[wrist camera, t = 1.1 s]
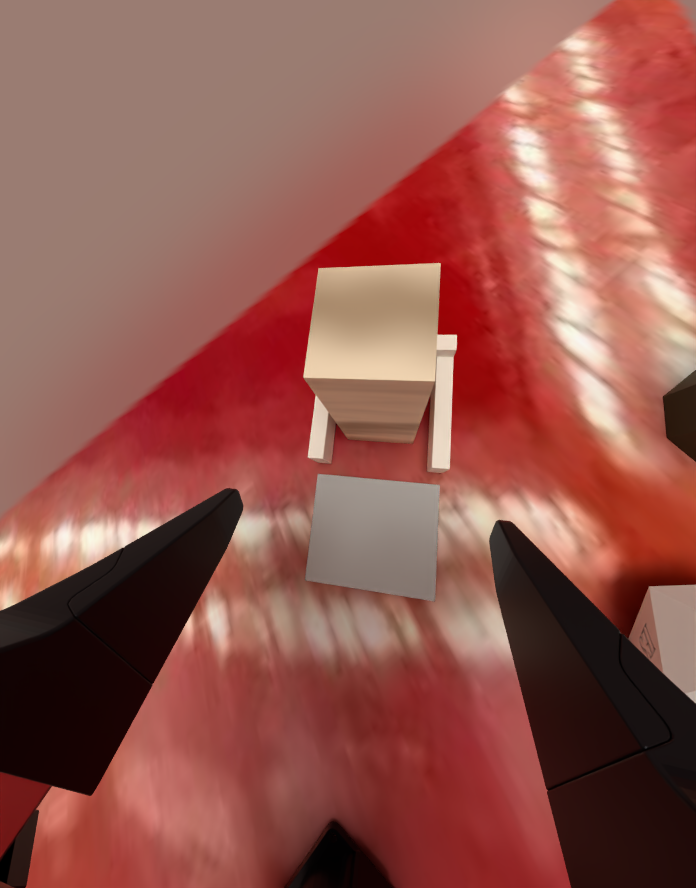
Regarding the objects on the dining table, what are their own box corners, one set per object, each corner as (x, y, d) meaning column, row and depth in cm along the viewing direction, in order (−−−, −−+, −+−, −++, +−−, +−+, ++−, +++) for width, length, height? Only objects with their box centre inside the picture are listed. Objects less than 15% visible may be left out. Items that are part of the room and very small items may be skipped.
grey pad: (434, 599, 20) (435, 601, 20) (306, 579, 22) (304, 580, 22) (439, 485, 22) (439, 485, 22) (318, 474, 24) (317, 473, 23)
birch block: (412, 443, 23) (435, 381, 11) (348, 439, 24) (303, 377, 12) (416, 382, 24) (440, 263, 12) (354, 380, 25) (318, 268, 13)
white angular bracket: (442, 473, 22) (452, 467, 18) (317, 462, 24) (303, 455, 20) (446, 361, 24) (456, 334, 20) (330, 359, 26) (319, 334, 22)
